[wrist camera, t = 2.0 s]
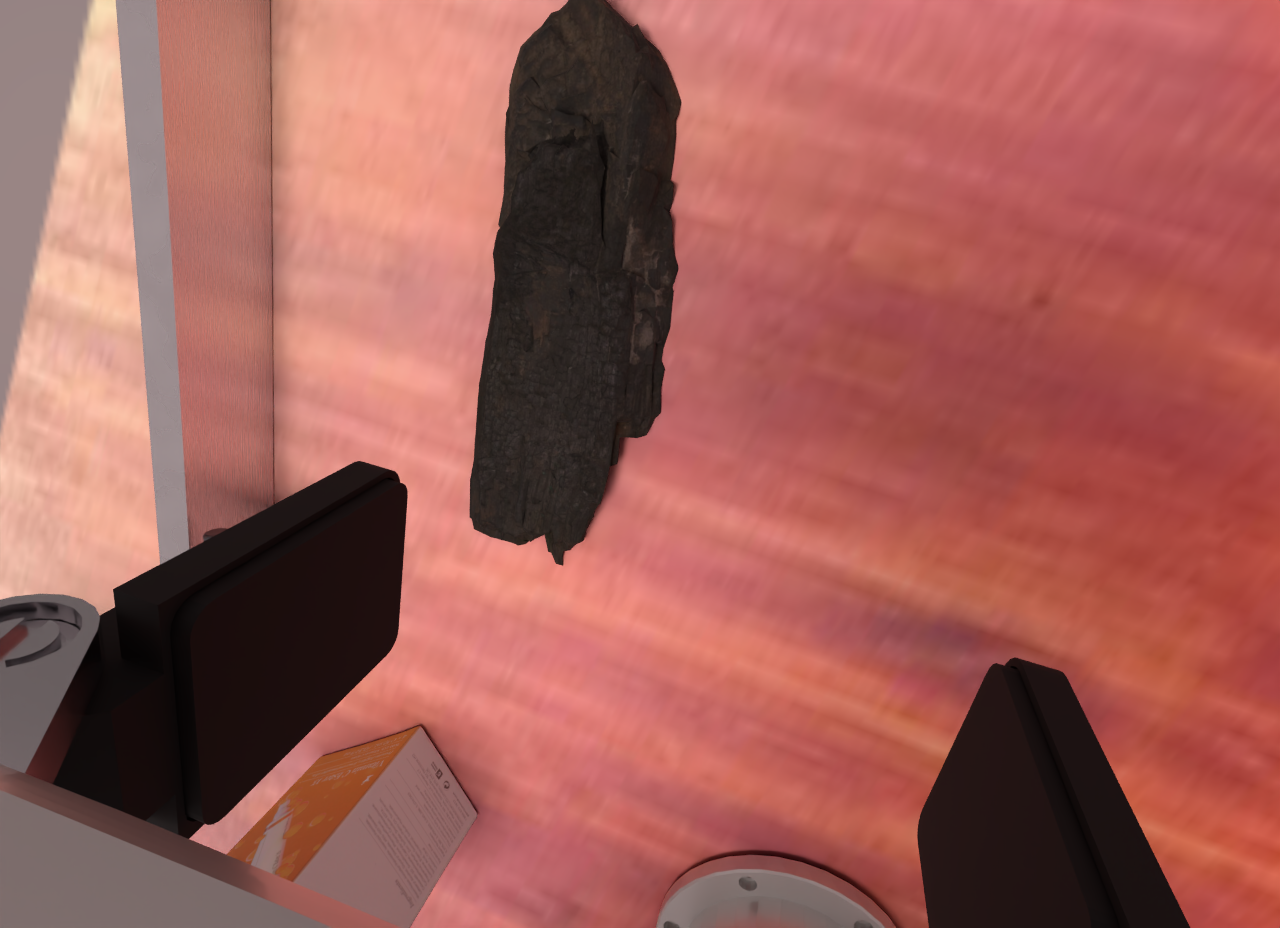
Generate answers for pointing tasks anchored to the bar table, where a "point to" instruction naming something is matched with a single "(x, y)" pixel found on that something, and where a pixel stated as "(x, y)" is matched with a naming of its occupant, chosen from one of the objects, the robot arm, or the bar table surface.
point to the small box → (366, 827)
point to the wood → (575, 275)
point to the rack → (202, 255)
